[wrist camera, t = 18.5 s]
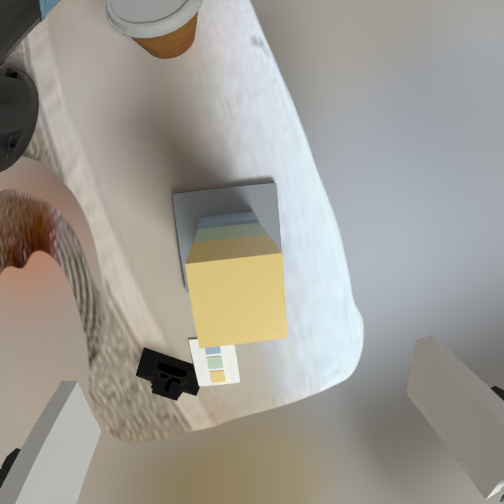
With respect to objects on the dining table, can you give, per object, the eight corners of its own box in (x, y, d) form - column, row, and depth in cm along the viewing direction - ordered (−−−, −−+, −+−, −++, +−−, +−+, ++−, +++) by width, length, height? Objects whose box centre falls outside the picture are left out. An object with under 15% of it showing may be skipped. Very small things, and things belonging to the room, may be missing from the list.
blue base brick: (201, 216, 37) (197, 225, 31) (253, 211, 37) (259, 218, 31) (207, 266, 38) (205, 283, 32) (257, 260, 39) (264, 276, 33)
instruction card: (188, 339, 41) (188, 340, 41) (233, 334, 42) (233, 335, 41) (198, 385, 43) (198, 386, 43) (240, 381, 44) (240, 382, 43)
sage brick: (198, 229, 31) (192, 242, 25) (259, 222, 31) (268, 234, 26) (206, 287, 32) (203, 311, 27) (264, 280, 33) (273, 303, 27)
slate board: (173, 193, 36) (172, 194, 36) (275, 182, 37) (276, 182, 37) (187, 290, 40) (186, 292, 39) (282, 279, 40) (283, 281, 40)
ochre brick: (192, 242, 25) (184, 264, 19) (268, 234, 26) (282, 252, 20) (203, 311, 27) (199, 348, 21) (273, 303, 27) (287, 337, 21)
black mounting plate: (219, 365, 43) (219, 384, 39) (203, 400, 45) (202, 420, 40) (135, 336, 41) (127, 354, 37) (125, 374, 43) (118, 393, 38)
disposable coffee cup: (216, 56, 33) (216, 12, 21) (141, 81, 33) (109, 48, 21) (197, -2, 30) (191, -55, 19) (126, 22, 30) (96, -23, 19)
